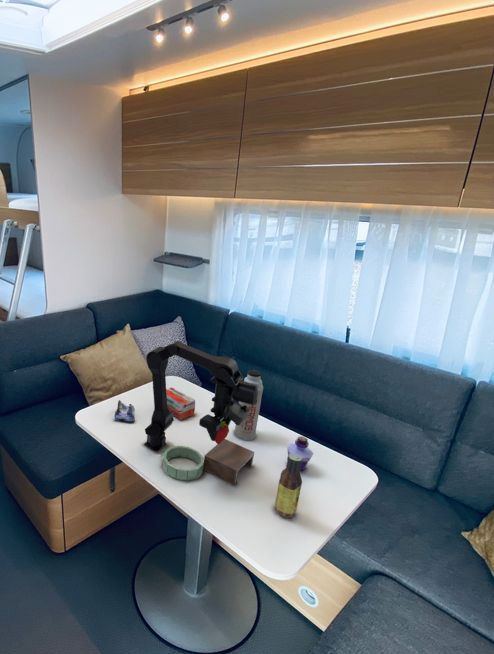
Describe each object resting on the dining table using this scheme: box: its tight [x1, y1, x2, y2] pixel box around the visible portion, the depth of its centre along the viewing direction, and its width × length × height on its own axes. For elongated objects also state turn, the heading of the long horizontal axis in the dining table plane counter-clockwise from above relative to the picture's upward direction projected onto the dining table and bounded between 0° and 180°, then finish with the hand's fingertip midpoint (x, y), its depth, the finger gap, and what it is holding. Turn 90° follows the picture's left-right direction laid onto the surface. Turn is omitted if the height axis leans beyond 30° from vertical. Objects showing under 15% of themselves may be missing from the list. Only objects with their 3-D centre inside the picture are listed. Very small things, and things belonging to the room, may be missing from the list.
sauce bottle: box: [274, 453, 303, 519], centre depth 123 cm, size 6×6×20 cm
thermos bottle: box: [234, 369, 264, 441], centre depth 161 cm, size 8×8×28 cm
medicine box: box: [166, 386, 196, 421], centre depth 181 cm, size 15×8×8 cm, turn 38°
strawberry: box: [214, 420, 230, 445], centre depth 140 cm, size 6×8×10 cm
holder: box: [162, 445, 204, 482], centre depth 145 cm, size 14×14×4 cm
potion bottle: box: [286, 435, 314, 472], centre depth 145 cm, size 9×9×12 cm
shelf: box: [203, 438, 255, 486], centre depth 145 cm, size 12×14×6 cm
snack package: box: [114, 399, 136, 423], centre depth 176 cm, size 12×6×12 cm
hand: (218, 436), depth 141 cm, fingers closed on strawberry, 7 cm apart
